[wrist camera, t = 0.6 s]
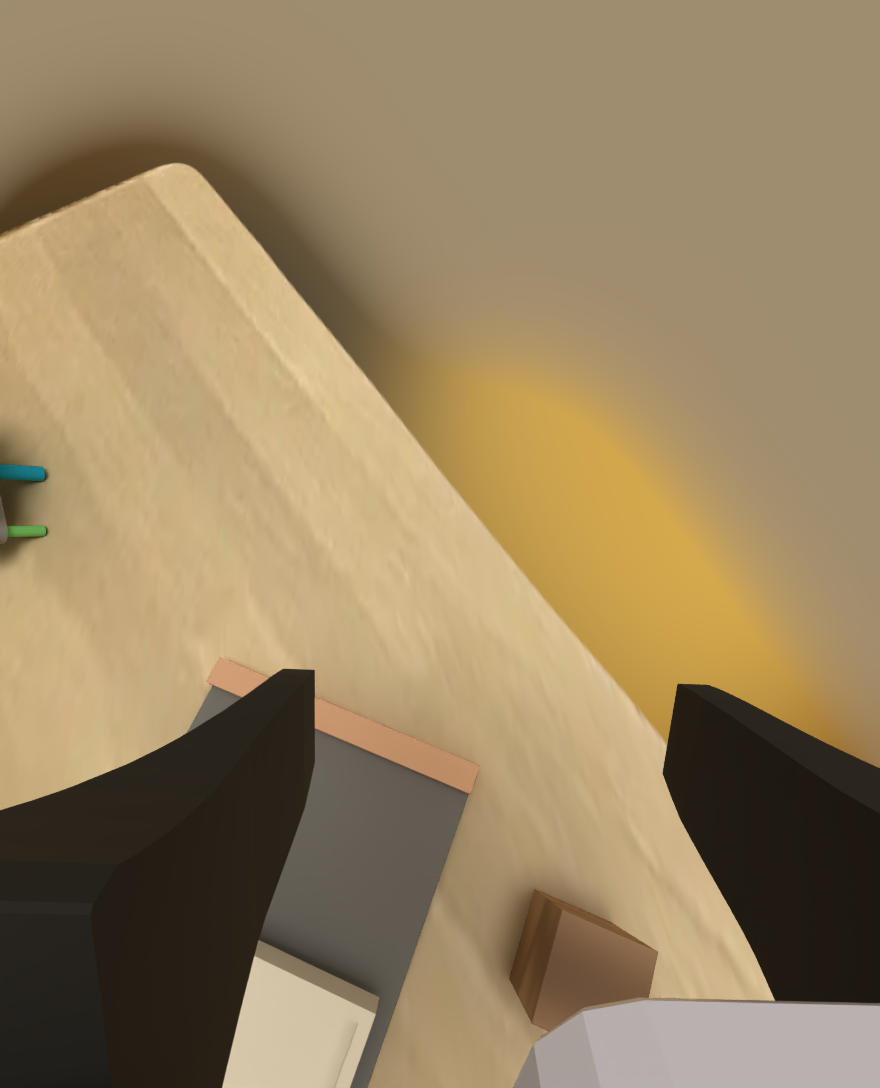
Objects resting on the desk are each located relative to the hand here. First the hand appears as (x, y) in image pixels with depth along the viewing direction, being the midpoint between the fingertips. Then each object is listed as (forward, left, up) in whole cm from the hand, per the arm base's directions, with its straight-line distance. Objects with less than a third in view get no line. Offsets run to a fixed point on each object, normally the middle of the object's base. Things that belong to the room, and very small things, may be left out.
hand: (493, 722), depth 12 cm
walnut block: (-6, -9, -26) cm, 29 cm away
